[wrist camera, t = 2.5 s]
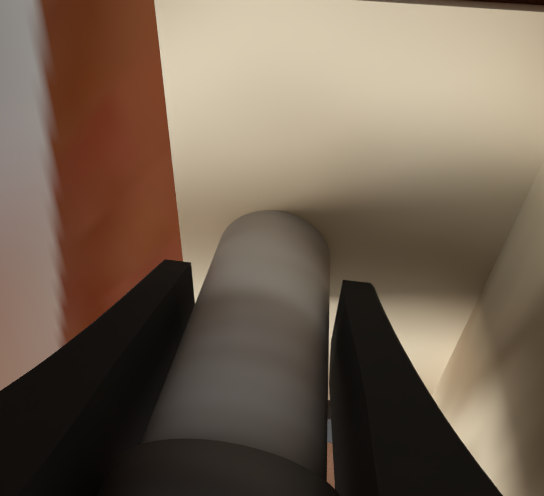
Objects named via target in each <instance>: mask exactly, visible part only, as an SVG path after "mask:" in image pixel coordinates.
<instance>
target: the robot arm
mask: <svg viewBox="0 0 544 496" xmlns="http://www.w3.org/2000/svg"><path fill="white" fill-rule="evenodd" d="M194 305H195V298H194V288H193V278H192V267H191V262H182V261H173V260H164V261H163V262H162V263H160V264H159V265H158V266H157V267H156V268H155V269H153V270H152V271H151V272H150V273H149V274H148V275H147V276H146V277H145V278H144V279H142V280H141V281H140V282H139V283H138V284H137V285H136V286H135V287H134V288H132V289H131V290H130V291H129V292H128V293H127V294H126V295H125V296H123V297H122V298H121V299H120V300H119V301H118V302H117V303H115V304H114V305H113V306H112V307H111V308H110V309H108V310H107V311H106V312H105V313H104V314H103V315H101V316H100V317H99V318H98V319H97V320H96V321H94V322H93V323H92V324H91V325H89V326H88V327H87V328H86V329H84V330H83V331H82V332H81V333H79V334H78V335H77V336H76V337H74V338H73V339H72V340H70V341H69V342H68V343H67V344H65V345H64V346H63V347H61V348H60V349H59V350H58V351H56V352H55V353H54V354H52V355H51V356H50V357H48V358H47V359H46V360H44V361H43V362H41V363H40V364H39V365H37V366H36V367H35V368H33V369H32V370H30V371H29V372H27V373H26V374H25V375H23V376H22V377H20V378H19V379H17V380H16V381H14V382H13V383H11V384H10V385H9V386H7V387H5V388H4V389H2V390H1V391H0V496H97V494H98V492H99V489H100V487H101V485H102V482H103V480H104V478H105V475H106V473H107V471H108V468H109V466H110V464H111V463H112V461H113V460H114V458H116V457H117V456H118V455H119V454H120V453H122V452H123V451H125V450H127V449H129V448H131V447H134V446H137V445H139V444H141V442H142V439H143V437H144V434H145V432H146V429H147V426H148V424H149V421H150V419H151V416H152V414H153V411H154V408H155V406H156V403H157V401H158V398H159V396H160V393H161V390H162V388H163V385H164V383H165V380H166V378H167V375H168V372H169V370H170V367H171V365H172V362H173V360H174V357H175V354H176V352H177V349H178V347H179V344H180V342H181V339H182V336H183V334H184V331H185V329H186V326H187V324H188V321H189V318H190V316H191V313H192V311H193V308H194ZM329 394H330V411H331V428H332V444H333V461H334V477H335V490H336V491H337V492H338V494H339V495H340V496H503V495H502V494H501V492H500V491H499V490H498V488H497V487H496V486H495V485H494V483H493V482H492V481H491V479H490V478H489V477H488V475H487V474H486V473H485V472H484V470H483V469H482V468H481V466H480V465H479V464H478V463H477V461H476V460H475V458H474V457H473V456H472V454H471V453H470V452H469V450H468V449H467V447H466V446H465V445H464V443H463V442H462V441H461V439H460V438H459V436H458V435H457V434H456V432H455V431H454V429H453V428H452V426H451V425H450V423H449V422H448V420H447V419H446V417H445V416H444V414H443V413H442V411H441V410H440V408H439V407H438V405H437V404H436V402H435V401H434V399H433V397H432V396H431V394H430V393H429V391H428V389H427V388H426V386H425V385H424V383H423V381H422V380H421V378H420V376H419V375H418V373H417V371H416V370H415V368H414V366H413V364H412V362H411V361H410V359H409V357H408V355H407V354H406V352H405V350H404V348H403V346H402V345H401V343H400V341H399V339H398V337H397V335H396V333H395V331H394V329H393V327H392V325H391V323H390V321H389V319H388V317H387V315H386V313H385V311H384V309H383V306H382V304H381V302H380V300H379V297H378V295H377V293H376V290H375V288H374V286H373V285H372V284H371V283H367V282H358V281H350V280H343V281H342V286H341V292H340V297H339V302H338V307H337V312H336V317H335V322H334V328H333V333H332V338H331V349H330V369H329Z"/></svg>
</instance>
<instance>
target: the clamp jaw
mask: <svg viewBox="0 0 544 496" xmlns="http://www.w3.org/2000/svg"><path fill="white" fill-rule="evenodd" d="M154 1H155V10H156V19H157V28H158V37H159V46H160V55H161V64H162V73H163V82H164V91H165V100H166V109H167V118H168V127H169V136H170V145H171V154H172V163H173V172H174V182H175V191H176V200H177V209H178V218H179V227H180V236H181V245H182V254H183V262H191V267H192V278H193V288H194V298H195V305H194V308H193V311H192V313H191V316H190V318H189V321H188V324H187V326H186V329H185V331H184V334H183V336H182V339H181V342H180V344H179V347H178V349H177V352H176V354H175V357H174V360H173V362H172V365H171V367H170V370H169V372H168V375H167V378H166V380H165V383H164V385H163V388H162V390H161V393H160V396H159V398H158V401H157V403H156V406H155V408H154V411H153V414H152V416H151V419H150V421H149V424H148V426H147V429H146V432H145V434H144V437H143V439H142V442H141V444H139V445H137V446H134V447H131V448H129V449H127V450H125V451H123V452H122V453H120V454H119V455H118V456H117V457H116V458H114V460H113V461H112V463H111V464H110V466H109V468H108V471H107V473H106V475H105V478H104V480H103V482H102V485H101V487H100V489H99V492H98V494H97V496H340V495H339V494H338V492H337V491H336V490H335V489H334V488H333V487H332V486H331V485H330V484H329V483H327V482H326V480H327V422H328V400H330V394H329V369H330V349H331V338H332V333H333V328H334V322H335V317H336V312H337V307H338V302H339V297H340V292H341V286H342V281H343V280H350V281H358V282H367V283H371V284H372V285H373V286H374V288H375V290H376V293H377V295H378V297H379V300H380V302H381V304H382V306H383V309H384V311H385V313H386V315H387V317H388V319H389V321H390V323H391V325H392V327H393V329H394V331H395V333H396V335H397V337H398V339H399V341H400V343H401V345H402V346H403V348H404V350H405V352H406V354H407V355H408V357H409V359H410V361H411V362H412V364H413V366H414V368H415V370H416V371H417V373H418V375H419V376H420V378H421V380H422V381H423V383H424V385H425V386H426V388H427V389H428V391H429V393H430V394H431V396H432V397H433V399H434V401H435V402H436V404H437V405H438V407H439V408H440V410H441V411H442V413H443V414H444V416H445V417H446V419H447V420H448V422H449V423H450V425H451V426H452V428H453V429H454V431H455V432H456V434H457V435H458V436H459V438H460V439H461V441H462V442H463V443H464V445H465V446H466V447H467V449H468V450H469V452H470V453H471V454H472V456H473V457H474V458H475V460H476V461H477V463H478V464H479V465H480V466H481V468H482V469H483V470H484V472H485V473H486V474H487V475H488V477H489V478H490V479H491V481H492V482H493V483H494V485H495V486H496V487H497V488H498V490H499V491H500V492H501V494H502V495H503V496H544V5H529V4H513V3H497V2H481V1H465V0H154Z"/></svg>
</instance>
